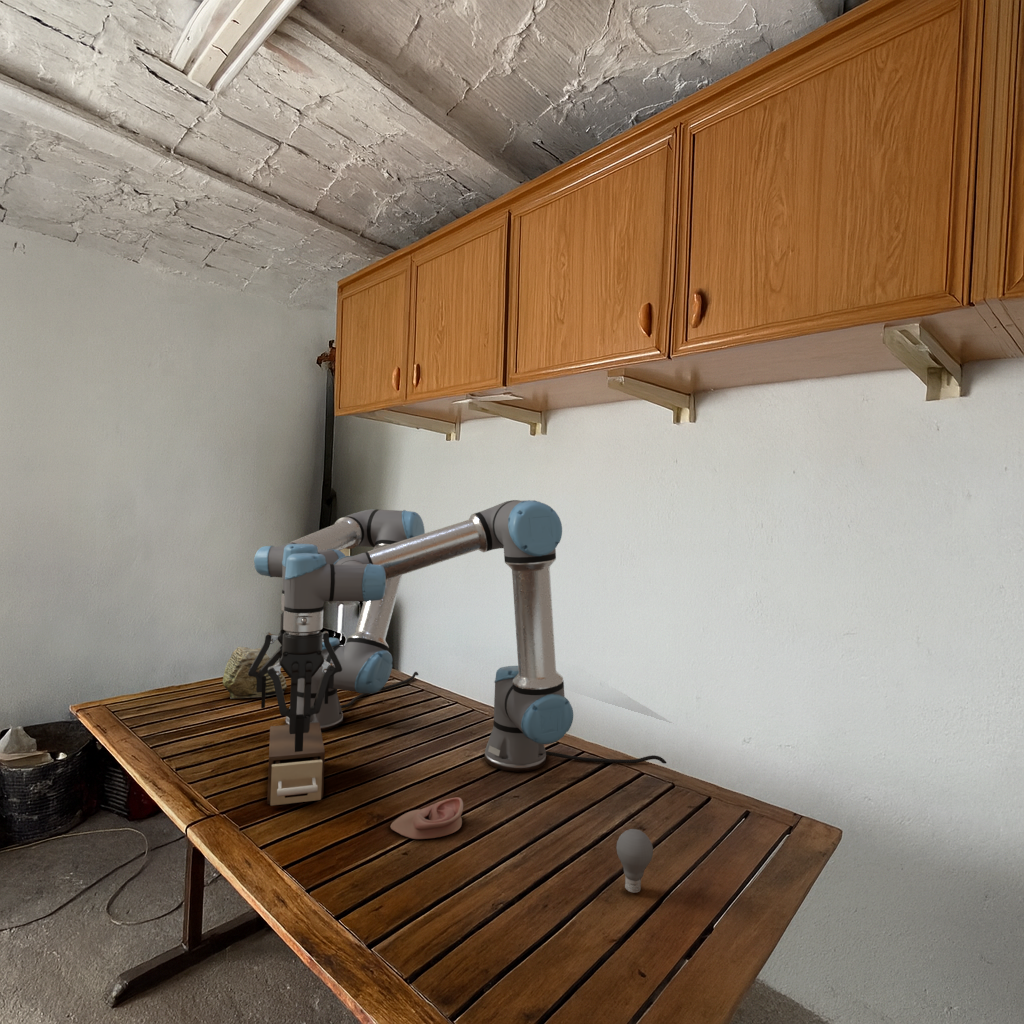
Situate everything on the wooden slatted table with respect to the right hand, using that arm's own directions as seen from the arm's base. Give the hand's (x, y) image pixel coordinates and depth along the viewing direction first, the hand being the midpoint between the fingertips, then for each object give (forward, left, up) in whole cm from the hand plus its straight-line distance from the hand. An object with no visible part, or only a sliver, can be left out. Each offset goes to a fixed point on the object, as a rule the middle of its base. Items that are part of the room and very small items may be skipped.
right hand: (298, 748), depth 126 cm
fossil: (+11, -80, -13) cm, 82 cm away
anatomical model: (-24, +12, -13) cm, 30 cm away
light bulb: (-53, +41, -13) cm, 68 cm away
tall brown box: (0, -14, -13) cm, 19 cm away
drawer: (0, -8, -12) cm, 15 cm away
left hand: (0, -20, +3) cm, 20 cm away
